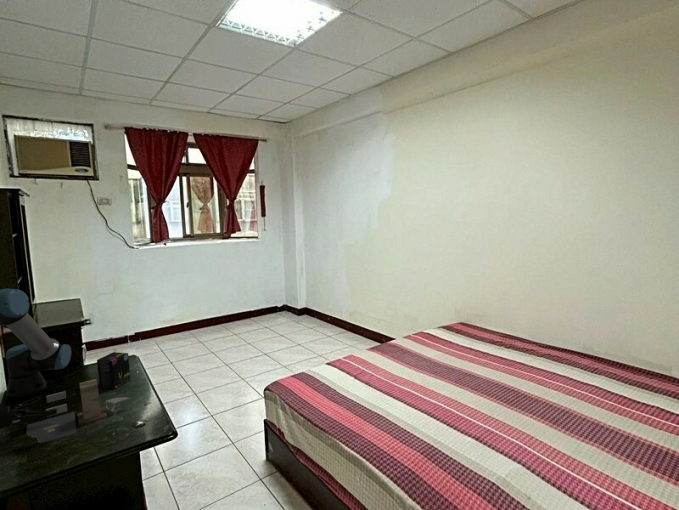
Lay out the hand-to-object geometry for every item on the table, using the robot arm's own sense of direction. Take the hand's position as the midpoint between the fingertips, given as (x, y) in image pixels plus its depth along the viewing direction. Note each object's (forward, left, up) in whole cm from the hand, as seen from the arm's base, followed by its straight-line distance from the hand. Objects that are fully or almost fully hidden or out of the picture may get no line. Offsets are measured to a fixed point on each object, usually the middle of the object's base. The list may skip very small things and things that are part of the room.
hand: (66, 400), depth 155 cm
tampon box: (-30, +20, -10) cm, 37 cm away
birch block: (0, +8, -9) cm, 12 cm away
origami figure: (+2, +18, -10) cm, 21 cm away
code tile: (0, -6, -10) cm, 12 cm away
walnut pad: (0, +8, -10) cm, 13 cm away
